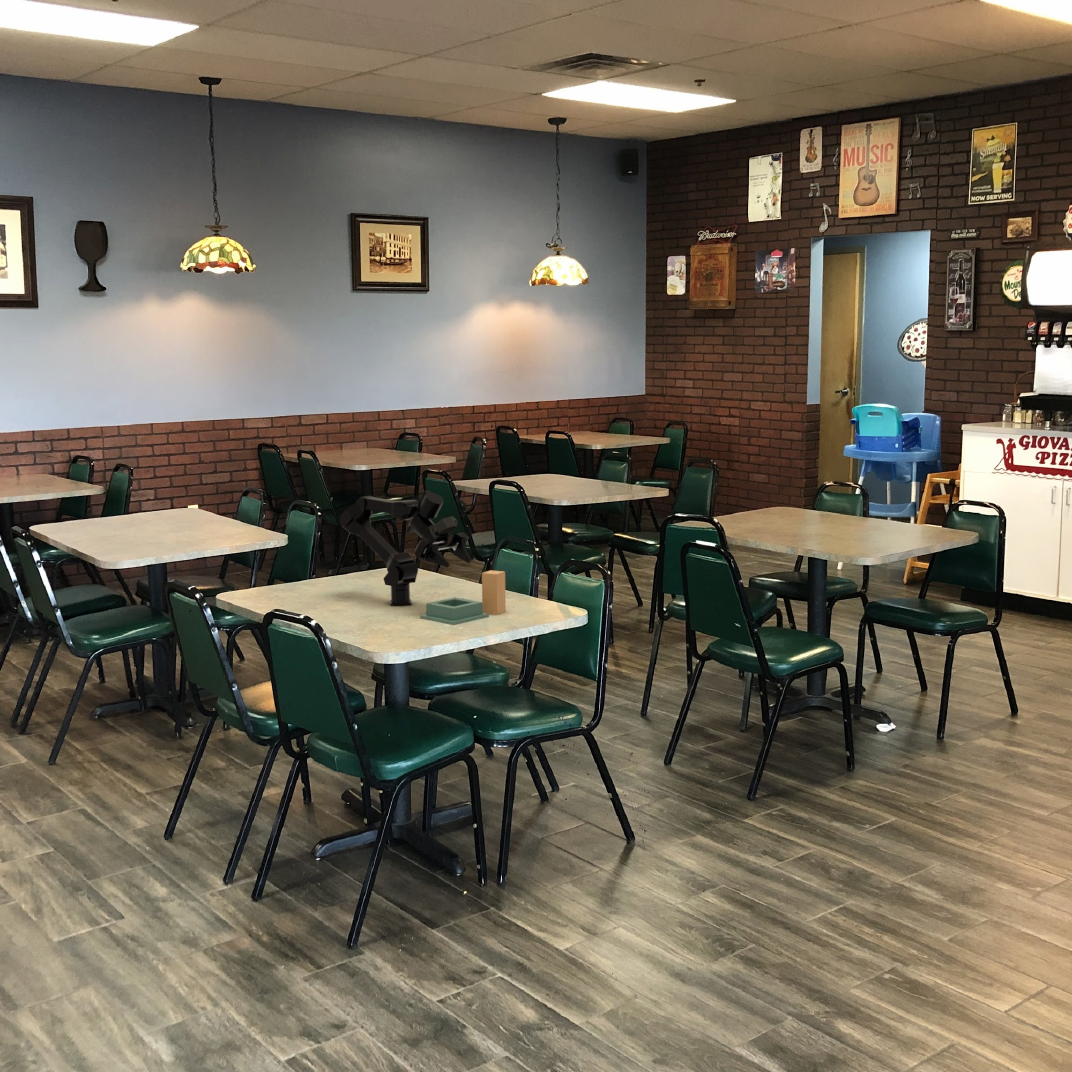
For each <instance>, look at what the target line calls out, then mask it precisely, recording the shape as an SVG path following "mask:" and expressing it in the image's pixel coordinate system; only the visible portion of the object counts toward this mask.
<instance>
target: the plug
mask: <svg viewBox="0 0 1072 1072" xmlns="http://www.w3.org/2000/svg"><path fill="white" fill-rule="evenodd" d="M481 591H482V592H481V594H482V595H481V597H482V599H481V602H482V605H483V613H486V614H489V615H496V616H498V615H501V614H503V613H506V612H507V611H506V607H507V606H506V605H507V604H506V599H507V598H506V571H503V570H502V571H501V570H500V571H499V570H491V569H490V570H487V571H484V572H482V573H481Z"/></svg>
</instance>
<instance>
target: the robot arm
mask: <svg viewBox="0 0 1072 1072" xmlns="http://www.w3.org/2000/svg"><path fill="white" fill-rule="evenodd" d="M421 496H422V497H421V498H420V500H419V501H418V499H407V500H405V499H404V500H394V499H386V498H382V497H381V498H380V497H374V496H372V495H368V496H360V497H358V499H357V500H356V501H355V502H354V503H353V504H352V505H350V506H348V508H346V509H345V511H343V512H342V513H341V514H340V518H339V523H340V525H341V527H342V528H343V529H344V530H346V531H347V532H349V533H350V534H353V535H354V536H355V535H356V536H358V537H360V538H361V540H362V541H364V543H365V544H366V545H367V546H368V547H370V549H372V551H373V552H374V553H375V554H376V555H377V556H378V557H379V558H380V559H381V560H382V561H383V562H384V563H385V564H386V565H385V566H386V570H387V573H386V574H385V576H384V577H383V582H384V585H385V586H388V587H390V598H391V599H390V600H389V605H390V606H411V605H412V599H411V594H410V593H411V591H410V587H411V586H410V584H412V583H416V581H417V576H418V572H419V568H418V567H419V566H418V563H417V562H416V559H415V558H417V559H418V560H419V561H420V560H422V561H424V562H425V561H426V562H429V563H433V564H436V565H438V566H442V567H444V568H449V567H450V563H449V561H448V560H447V559H446V557H444V555H443V554H442V553H441V552H440V551H441V550H446V549H448V551H450V552H451V553H452V555H453V556H455V557H457V558H458V559H460V560H461V561H464V562H466V563H467V564H470V563H471V561H472V560H471V557H470V555H469V552H468V550H467V547H466V545H467V542H468V541H469V538H470V536H469V535H468V534H467V533H466V532H460V533H459V532H458V533H455V534H453V535H452V538H451V539H450V540H449V539H448V538H450V536H451V533H450V532H452V531H453V530H454V529H456V528H457V526H458V524H459V522H458V519H456V518H455V517H454V516H448V517H444V518H441V519H440V520H438V521H437V522H436V523H434V522H433V521H432V520H431V519H436V518H437V517H438V514H439V512H440V510H441V508H442V506H443V504H444V502H445V501H444V498H443V497H442V496H441V495H440V494H438V493H435V492H431V491H430V490H429V489H428V490H424V491H423V493H422V495H421ZM373 511H374V512H378V513H384V514H389V515H391V516H392V517H393V518H395V519H397V520H399V521H407V520H408V521H409V520H410V521H409V523H407V525H406V526H407V528H406V531H407V533H408V534H409V533H416V534H417V535H418V536H419V537H420V540H419V542H418V544H417V545H416V548H415V550H414V556H415V558H413V557H412V556H411V555H410V553H408V552H407V551H405V552H398V551H397V550H396V549H395V548H394V547H393V546H392V545H391V544H390V543H389V542H388V541H387V540H386V539H385V538H384V537H383V536H382V535H381V534H380V533H379V531H377V530H376V529H375V528H374V526H372V523H371V521H372V520H371V517H372V516H373Z"/></svg>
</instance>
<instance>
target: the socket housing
mask: <svg viewBox="0 0 1072 1072" xmlns="http://www.w3.org/2000/svg"><path fill="white" fill-rule="evenodd" d="M425 605H426V607H425V612H426V613H425V614H420V615H419V618H420V619H424V620H427V621H432V622H438V623H442V624H443V623H444V624H448V625H453V626H454V625H459V624H463V623H468V622H472V621H477V620H480V619H484V618H489V617H490V614H486V613H483V605H482V601H479V600H478V601H477V600H472V599H466V598H460V597H451V598H445V599H441V600H436V601H431V602H426V604H425Z"/></svg>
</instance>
